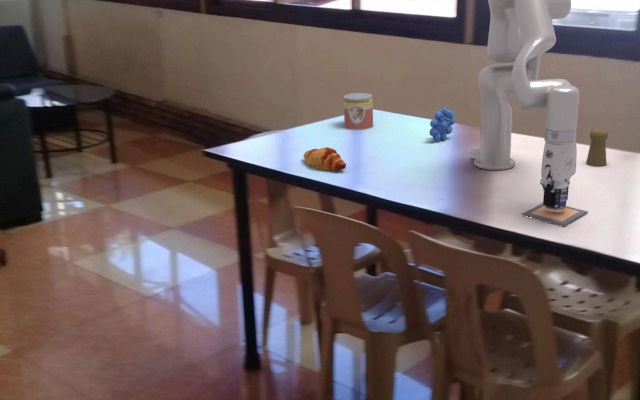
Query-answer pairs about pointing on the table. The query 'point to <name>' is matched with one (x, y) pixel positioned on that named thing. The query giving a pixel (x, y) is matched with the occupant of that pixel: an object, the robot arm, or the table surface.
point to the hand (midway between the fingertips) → (555, 201)
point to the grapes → (442, 124)
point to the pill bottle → (559, 197)
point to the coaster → (555, 215)
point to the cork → (597, 148)
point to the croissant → (324, 159)
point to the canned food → (358, 111)
